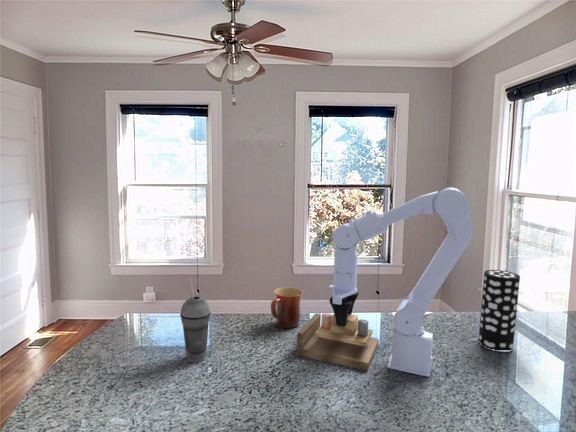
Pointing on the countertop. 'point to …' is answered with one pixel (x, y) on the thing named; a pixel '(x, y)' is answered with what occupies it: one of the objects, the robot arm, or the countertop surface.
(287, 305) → the mug
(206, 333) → the beverage cup
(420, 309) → the robot arm
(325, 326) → the wooden stand
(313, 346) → the light wood stepped block
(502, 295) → the spotted tube
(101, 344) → the countertop surface
